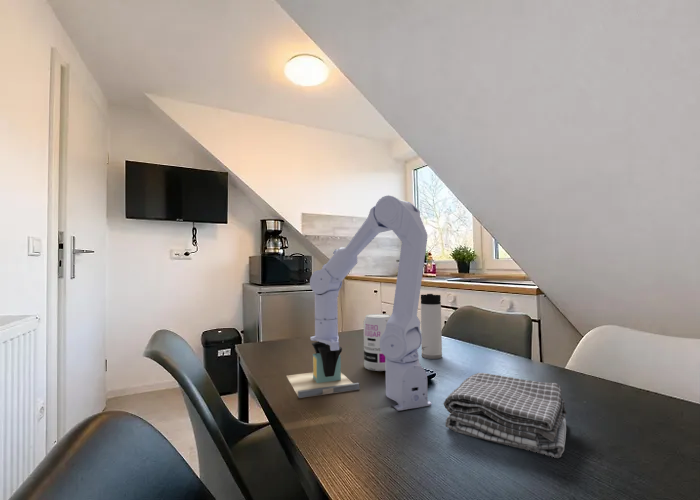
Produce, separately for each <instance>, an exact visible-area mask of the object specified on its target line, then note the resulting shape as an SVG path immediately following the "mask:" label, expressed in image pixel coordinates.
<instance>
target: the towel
mask: <svg viewBox="0 0 700 500" xmlns="http://www.w3.org/2000/svg"><path fill="white" fill-rule="evenodd" d="M562 391H563V389H562V387H561V386H560V384H558V383H556V382H543V381H541V382H540V381H535V380H526V379H522V378H521V379H520V378H516V377H513V376H512V377H511V376H504V375H499V374H498V375H497V374H491V373H486V372H477V373H475V374H472V375H470V376H468V378H466V379H464V381H462V383H460V385H459V386H457V388H455V389H454V390H453V391H452V392H451V393H450V394H449V395H448V396H447V397H446V398H445V399H444V402H443V405H444V408H445V410H446V411H447V412H448V413H449V414H448V416H446V419H445V427H446V428H447V429H450V430H452V431H454V432H455V433H457V434H462V435H465V436H470V437H473V438H477V439H481V440H484V441H489V442H493V443H496V444H502V445H505V446H508V445H509V447H513V448H518V449H522V450H523V449H524V450H526V451H529V450H530V451H529V452H533V453H536V452H537V453H536V454H540V455H544V454H545V456H547V457H550V456H551V457H550V458H553V457H554V458H553V459H559V458H561V457H562V456H563V455H562V454H563V453H564V451H565V445H566V436H567V435H566V434H567V421H566V416H567V414H568V412H567V410H566V406H565V403H566V402H565V399H564V398H562V393H563V392H562Z"/></svg>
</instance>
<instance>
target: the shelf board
mask: <svg viewBox="0 0 700 500" xmlns="http://www.w3.org/2000/svg"><path fill="white" fill-rule="evenodd" d="M286 378H287V380H288V382H289V384H290V385H291V387H292V388H293V390H294V392H295V394H296V396H297V397H298V399H302V398H309V397H316V396H322V395H328V394H330V395H331V394H336V393H344V392H353V391H358V390H360V388H361V387H360V382H352V381H351V380H350V379H349V378H348V377H347V376H346V375H345V374H344V373H342V372H341V380H337V381H330V382H322V383H317V382H316V381H315V380H314V378H313V371H312V372H306V373H305V372H304V373H296V374H290V375H286Z"/></svg>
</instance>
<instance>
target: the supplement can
mask: <svg viewBox="0 0 700 500" xmlns="http://www.w3.org/2000/svg"><path fill="white" fill-rule="evenodd" d="M391 315H392V314H387V313H369V314H366V315H365V318H364V320H363V367H364V368H365V369H367V370H369V371H374V372H375V371H377V372H383V371H384V372H386V371H385V356H384V355H383V353H382V351H381V349H380V339H381V336H382V335H383V333H384V332H385V329H386V324H387V322H388V320H389V318H390V316H391Z"/></svg>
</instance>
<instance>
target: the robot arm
mask: <svg viewBox="0 0 700 500" xmlns="http://www.w3.org/2000/svg"><path fill="white" fill-rule="evenodd" d="M367 215H368V216H367V218H366V219H365V220H364V222H363V223H362V225H361V226H360V228H359V229H358V230H357V232H355V234H354V236H353V237H352V238H351V239H350V241H349V243H348V244H347V245H346V246H345V247H344V246H343V247H339V248H338V249H334V250H333V251H332V254H333V255H332V256H331V257H330V258H329V260H328V261H327V262H326V264H325V263H324V264H323V265H322V268H321V269H316V270H315V271H312V274H311V276H310V278H309V286H310V289H311V290H312V292H313V293H314V335H313V336H309V337H310V338H309V339H310V341H312V343H311V345H312V347H313V349H314V352H315V354H317V353H320V355H321V358H322V362H323V369H324V374H325V377H330V376H334V373H335V368H336V364H337V360H338V357H339V355H341V353H342V351H343V348H342V347H341V346H340V341H339V337H340V336H339V325H338V324H339V319H338V318H339V317H338V316H339V315H338V312H339V311H338V308H339V307H338V302H339V301H338V297H339V293H340V290H341V288H342V286H343V281H344V279H345V278H346V277H347V276H348V275H349V273H350V272H351V271H352V270H353V269H354V268H355V266H356V265H357V264H358V255H359V254H360V253H361V252H362V251H363V250H364V249H366V247H368V245H369V244H370V243H371V242H372V241H373V240H374V239H375V238H376V237H377V236H378V235H379V234H381V233H385V232H389V231H392V232H393V233H394V234H395V235H396V236H397V238H398V239H399V240H400V241H401V246H400V254H399V261H398V268H397V269H398V270H397V276H396V277H397V278H396V284H395V290H394V291H395V292H394V298H393V306H392V307H393V308H392V313H391V314H390V315H391V316H390V318H389V320H388V322H387V324H386V329H385V332H384V333H383V335H382V336H381V339H380V349H381V351H382V353H383V355H384V356H385V371H384V372H385V396H386V397H387V398H388V399H390V400H393V401H395V402H396V404H395V403H394V404H391V407H393V408H394V409H395V410H396V411H399V412H400V411H405V410H410V409H411V410H412V409H417V408H423V407H428V406H431V405H432V402H431V401H430V400H428V399H429V397H428V376H427V371H426V370H425V368H424V367H422V366H421V363H420V358H419V353H418V350H419V348H421V347H422V346H421V343H422V335H421V319H420V318H419V316H418V309H419V303H420V297H421V288H422V281H423V273H424V267H425V266H424V265H425V257H426V251H427V243H428V231H427V230H426V228H425V225H424V222H423V220H422V218H421V211H420V209H418V208H417V207H416V206H415V205H414V204H413V203H412V202H410V201H408V200H407V201H406V200H403V199H400V198H397V197H396V196H394V195H389V194H388V195H384V196H382V197H381V198H379V199H378V201H377V202H376V204H375V205H374V206H372V207H371V209H370V211H369V212H368V214H367ZM313 341H314V342H313Z"/></svg>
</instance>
